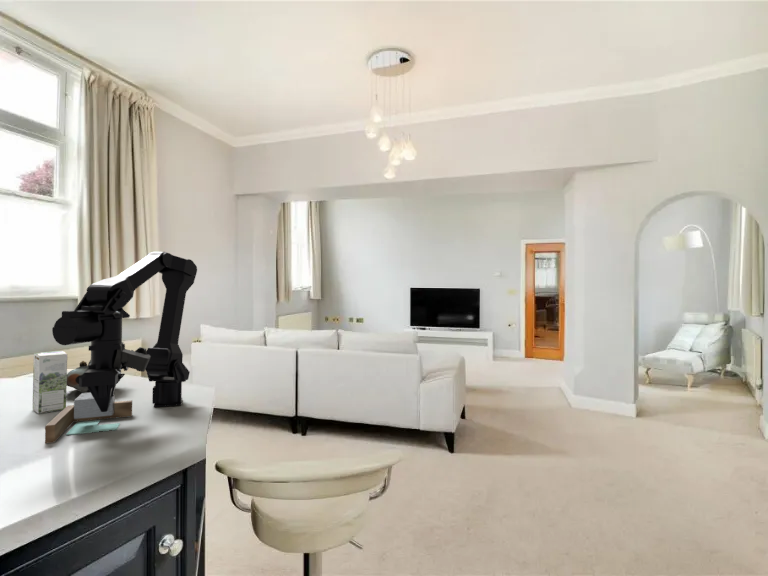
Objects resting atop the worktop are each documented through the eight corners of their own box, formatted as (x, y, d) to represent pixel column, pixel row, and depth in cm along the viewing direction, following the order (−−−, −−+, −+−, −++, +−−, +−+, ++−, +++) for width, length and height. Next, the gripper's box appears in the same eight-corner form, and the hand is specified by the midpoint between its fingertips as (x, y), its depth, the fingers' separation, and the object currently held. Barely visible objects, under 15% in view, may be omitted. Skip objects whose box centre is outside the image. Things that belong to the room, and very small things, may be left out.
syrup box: (60, 405, 110) (61, 350, 110) (66, 409, 106) (67, 352, 106) (32, 410, 106) (33, 352, 106) (38, 414, 102) (39, 354, 102)
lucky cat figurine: (76, 387, 130) (103, 345, 134) (113, 402, 130) (138, 361, 135) (47, 383, 115) (79, 337, 120) (89, 400, 116) (118, 354, 120)
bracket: (73, 418, 90) (74, 400, 90) (81, 410, 96) (81, 393, 96) (112, 415, 93) (112, 397, 93) (117, 407, 98) (117, 390, 98)
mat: (66, 435, 88) (66, 434, 88) (77, 423, 96) (77, 422, 96) (116, 430, 92) (116, 429, 92) (122, 418, 100) (122, 418, 100)
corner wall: (132, 414, 103) (132, 400, 103) (121, 435, 89) (121, 418, 89) (67, 420, 98) (67, 405, 98) (45, 443, 84) (45, 425, 84)
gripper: (143, 343, 88) (142, 418, 88) (152, 333, 105) (151, 396, 105) (78, 345, 83) (77, 424, 83) (99, 335, 100) (98, 400, 100)
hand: (105, 409), depth 93 cm, fingers closed on bracket, 2 cm apart
